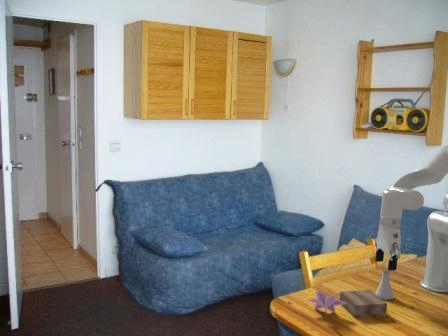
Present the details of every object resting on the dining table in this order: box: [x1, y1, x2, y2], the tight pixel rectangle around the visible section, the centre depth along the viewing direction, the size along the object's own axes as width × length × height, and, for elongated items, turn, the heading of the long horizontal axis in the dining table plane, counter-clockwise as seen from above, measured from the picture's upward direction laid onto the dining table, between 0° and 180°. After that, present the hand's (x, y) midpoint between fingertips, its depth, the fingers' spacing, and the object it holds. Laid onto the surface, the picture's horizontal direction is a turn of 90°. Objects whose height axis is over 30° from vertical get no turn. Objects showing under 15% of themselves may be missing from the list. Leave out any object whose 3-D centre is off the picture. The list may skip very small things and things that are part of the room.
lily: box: [307, 289, 347, 321], centre depth 163 cm, size 12×12×10 cm
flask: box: [374, 270, 395, 301], centre depth 181 cm, size 7×7×10 cm
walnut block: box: [339, 289, 388, 319], centre depth 169 cm, size 12×12×5 cm
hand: (385, 265), depth 179 cm, fingers open, 9 cm apart
